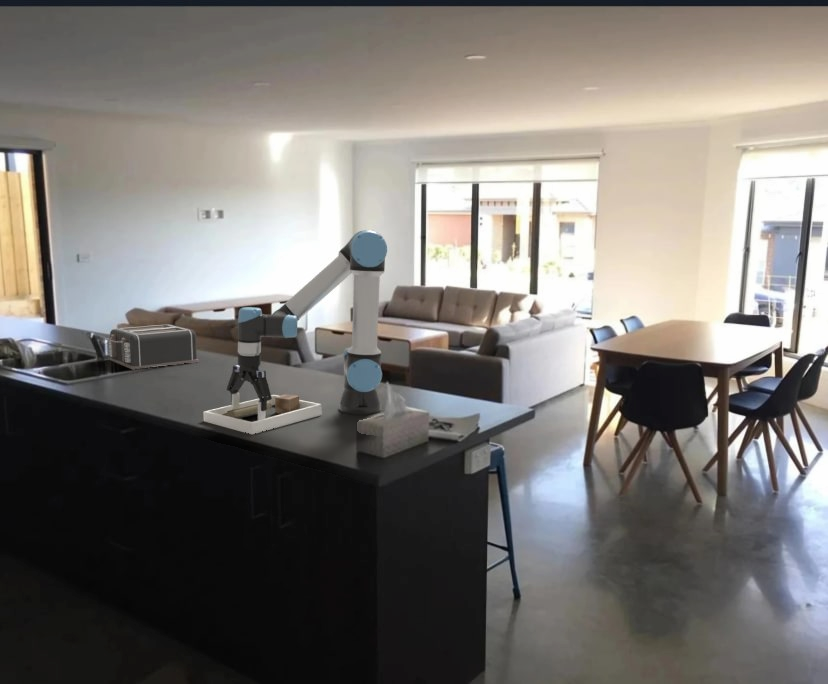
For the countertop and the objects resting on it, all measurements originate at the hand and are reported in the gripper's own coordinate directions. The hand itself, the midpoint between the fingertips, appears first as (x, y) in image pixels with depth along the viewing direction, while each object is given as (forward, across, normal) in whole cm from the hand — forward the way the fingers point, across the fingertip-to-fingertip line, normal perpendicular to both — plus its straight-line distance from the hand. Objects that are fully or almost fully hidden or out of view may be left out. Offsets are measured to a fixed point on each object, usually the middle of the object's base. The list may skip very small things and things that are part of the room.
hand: (248, 416), depth 248 cm
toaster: (+7, +117, -40) cm, 124 cm away
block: (+2, -2, -17) cm, 17 cm away
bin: (+2, -2, -6) cm, 6 cm away
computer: (0, -2, 0) cm, 2 cm away
